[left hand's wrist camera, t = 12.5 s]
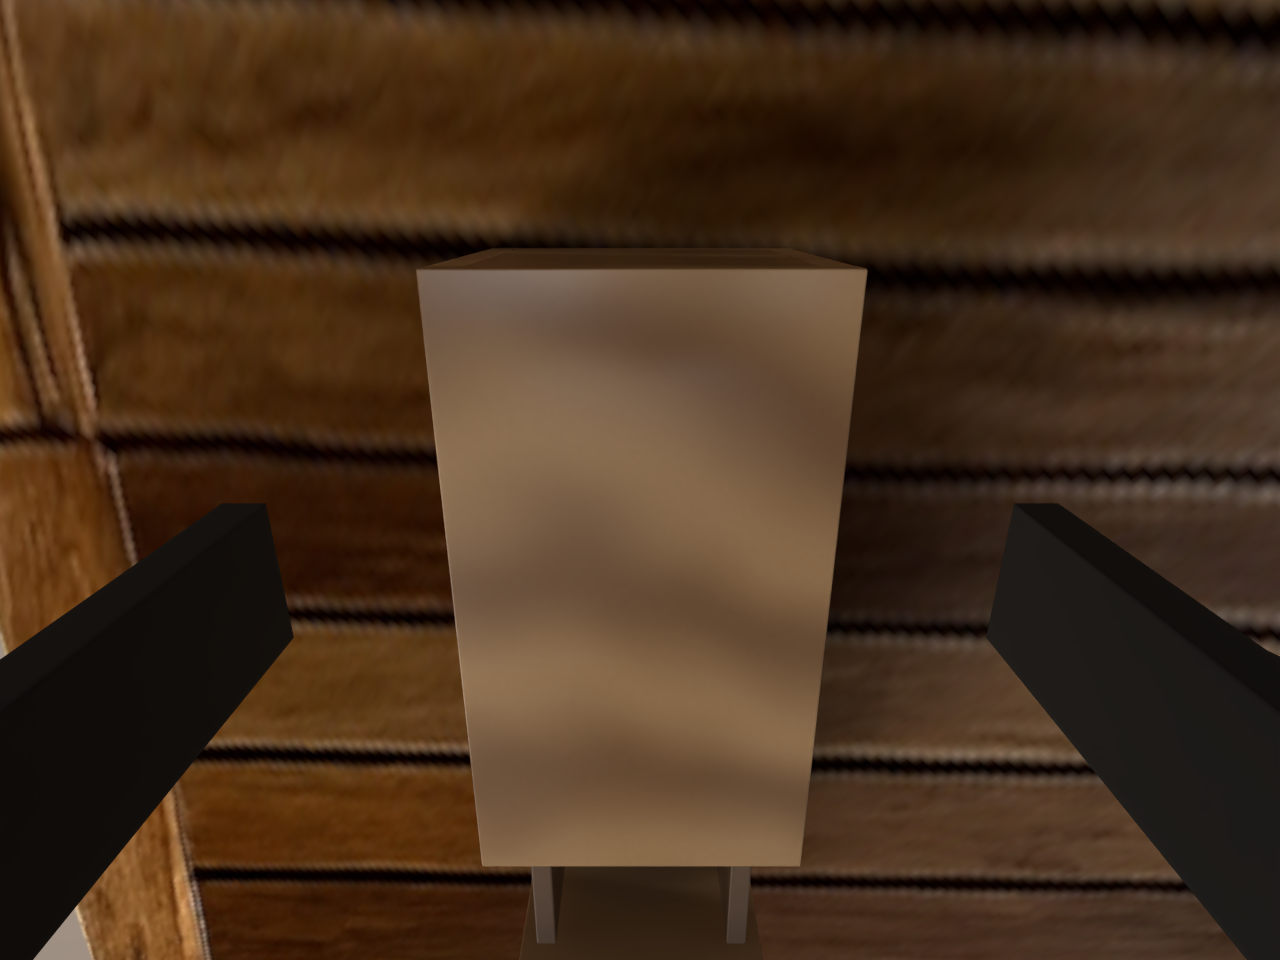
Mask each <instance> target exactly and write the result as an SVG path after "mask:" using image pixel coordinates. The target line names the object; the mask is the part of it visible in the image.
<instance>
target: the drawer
mask: <svg viewBox="0 0 1280 960" xmlns="http://www.w3.org/2000/svg"><path fill="white" fill-rule="evenodd" d="M531 871H532V884H531V890H530V896H529V902H528V908H527V915H526V921H525V927H524V933H523V940H522V946H521V952H520V958H519V960H763V958H762V951H761V945H760V939H759V933H758V927H757V921H756V915H755V909H754V903H753V896H752V890H751V884H750V876H751V866H531Z"/></svg>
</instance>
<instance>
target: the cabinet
mask: <svg viewBox="0 0 1280 960" xmlns="http://www.w3.org/2000/svg"><path fill="white" fill-rule="evenodd" d="M416 274H417V283H418V292H419V301H420V310H421V319H422V328H423V337H424V346H425V355H426V364H427V373H428V382H429V391H430V400H431V409H432V418H433V427H434V436H435V445H436V454H437V463H438V472H439V481H440V490H441V499H442V508H443V517H444V526H445V535H446V544H447V553H448V562H449V571H450V580H451V589H452V598H453V607H454V616H455V625H456V634H457V643H458V652H459V661H460V670H461V679H462V688H463V697H464V706H465V715H466V724H467V733H468V742H469V751H470V760H471V769H472V778H473V787H474V796H475V805H476V814H477V823H478V832H479V841H480V850H481V859H482V866H800V864H801V855H802V846H803V837H804V828H805V819H806V811H807V802H808V793H809V784H810V775H811V766H812V757H813V749H814V740H815V731H816V722H817V713H818V704H819V696H820V687H821V678H822V669H823V660H824V651H825V642H826V634H827V625H828V616H829V607H830V598H831V589H832V581H833V572H834V563H835V554H836V545H837V536H838V527H839V519H840V510H841V501H842V492H843V483H844V474H845V465H846V457H847V448H848V439H849V430H850V421H851V412H852V404H853V395H854V386H855V377H856V368H857V359H858V350H859V342H860V333H861V324H862V315H863V306H864V297H865V289H866V280H867V269H866V268H862V267H858V266H853V265H849V264H845V263H842V262H838V261H834V260H831V259H827V258H823V257H819V256H816V255H812V254H808V253H804V252H801V251H797V250H793V249H790V248H492V249H489V250H485V251H482V252H478V253H474V254H471V255H467V256H463V257H460V258H456V259H452V260H449V261H445V262H441V263H438V264H434V265H430V266H425V267H422V268H418V269H417V270H416Z"/></svg>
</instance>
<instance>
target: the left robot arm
mask: <svg viewBox="0 0 1280 960" xmlns="http://www.w3.org/2000/svg"><path fill="white" fill-rule="evenodd" d="M293 638H294V637H293V632H292V627H291V622H290V617H289V613H288V608H287V603H286V598H285V594H284V589H283V584H282V579H281V574H280V570H279V565H278V560H277V555H276V551H275V546H274V541H273V536H272V531H271V527H270V522H269V517H268V512H267V508H266V504H221V505H219V506H218V507H216V508H215V509H213V510H212V511H211V512H209V513H208V514H206V515H205V516H204V517H202V518H201V519H199V520H198V521H196V522H195V523H194V524H192V525H191V526H189V527H188V528H186V529H185V530H184V531H182V532H181V533H179V534H178V535H177V536H175V537H174V538H172V539H171V540H169V541H168V542H167V543H165V544H164V545H162V546H161V547H159V548H158V549H157V550H155V551H154V552H152V553H151V554H150V555H148V556H147V557H145V558H144V559H142V560H141V561H140V562H138V563H137V564H135V565H134V566H132V567H131V568H130V569H128V570H127V571H125V572H124V573H123V574H121V575H120V576H118V577H117V578H115V579H114V580H113V581H111V582H110V583H108V584H107V585H105V586H104V587H103V588H101V589H100V590H98V591H97V592H96V593H94V594H93V595H91V596H90V597H88V598H87V599H86V600H84V601H83V602H81V603H80V604H78V605H77V606H76V607H74V608H73V609H71V610H70V611H69V612H67V613H66V614H64V615H63V616H61V617H60V618H59V619H57V620H56V621H54V622H53V623H51V624H50V625H49V626H47V627H46V628H44V629H43V630H42V631H40V632H39V633H37V634H36V635H34V636H33V637H32V638H30V639H29V640H27V641H26V642H24V643H23V644H22V645H20V646H19V647H17V648H16V649H15V650H13V651H12V652H10V653H9V654H7V655H6V656H5V657H3V658H2V659H0V960H33V959H34V958H35V957H36V955H37V954H38V953H39V952H40V950H41V949H42V948H43V947H44V945H45V944H46V943H47V942H48V941H49V939H50V938H51V937H52V936H53V934H54V933H55V932H56V931H57V929H58V928H59V927H60V926H61V924H62V923H63V922H64V921H65V919H66V918H67V917H68V916H69V915H70V913H71V912H72V911H73V910H74V908H75V907H76V906H77V905H78V903H79V902H80V901H81V900H82V899H83V897H84V896H85V895H86V894H87V892H88V891H89V890H90V889H91V887H92V886H93V885H94V884H95V882H96V881H97V880H98V879H99V878H100V876H101V875H102V874H103V873H104V871H105V870H106V869H107V868H108V866H109V865H110V864H111V863H112V861H113V860H114V859H115V858H116V857H117V855H118V854H119V853H120V852H121V850H122V849H123V848H124V847H125V845H126V844H127V843H128V842H129V840H130V839H131V838H132V837H133V835H134V834H135V833H136V832H137V831H138V829H139V828H140V827H141V826H142V824H143V823H144V822H145V821H146V819H147V818H148V817H149V816H150V814H151V813H152V812H153V811H154V810H155V808H156V807H157V806H158V805H159V803H160V802H161V801H162V800H163V798H164V797H165V796H166V795H167V793H168V792H169V791H170V790H171V789H172V787H173V786H174V785H175V784H176V782H177V781H178V780H179V779H180V777H181V776H182V775H183V774H184V772H185V771H186V770H187V769H188V768H189V766H190V765H191V764H192V763H193V761H194V760H195V759H196V758H197V756H198V755H199V754H200V753H201V751H202V750H203V749H204V748H205V746H206V745H207V744H208V743H209V742H210V740H211V739H212V738H213V737H214V735H215V734H216V733H217V732H218V730H219V729H220V728H221V727H222V725H223V724H224V723H225V722H226V721H227V719H228V718H229V717H230V716H231V714H232V713H233V712H234V711H235V709H236V708H237V707H238V706H239V704H240V703H241V702H242V701H243V700H244V698H245V697H246V696H247V695H248V693H249V692H250V691H251V690H252V688H253V687H254V686H255V685H256V683H257V682H258V681H259V680H260V679H261V677H262V676H263V675H264V674H265V672H266V671H267V670H268V669H269V667H270V666H271V665H272V664H273V662H274V661H275V660H276V659H277V657H278V656H279V655H280V654H281V653H282V651H283V650H284V649H285V648H286V646H287V645H288V644H289V643H290V641H291V640H292V639H293ZM986 638H987V639H988V640H989V641H990V643H991V644H992V645H993V646H994V648H995V649H996V650H997V651H998V653H999V654H1000V655H1001V656H1002V657H1003V659H1004V660H1005V661H1006V662H1007V664H1008V665H1009V666H1010V667H1011V669H1012V670H1013V671H1014V672H1015V674H1016V675H1017V676H1018V677H1019V679H1020V680H1021V681H1022V682H1023V683H1024V685H1025V686H1026V687H1027V688H1028V690H1029V691H1030V692H1031V693H1032V695H1033V696H1034V697H1035V698H1036V700H1037V701H1038V702H1039V703H1040V704H1041V706H1042V707H1043V708H1044V709H1045V711H1046V712H1047V713H1048V714H1049V716H1050V717H1051V718H1052V719H1053V721H1054V722H1055V723H1056V724H1057V725H1058V727H1059V728H1060V729H1061V730H1062V732H1063V733H1064V734H1065V735H1066V737H1067V738H1068V739H1069V740H1070V742H1071V743H1072V744H1073V745H1074V746H1075V748H1076V749H1077V750H1078V751H1079V753H1080V754H1081V755H1082V756H1083V758H1084V759H1085V760H1086V761H1087V763H1088V764H1089V765H1090V766H1091V768H1092V769H1093V770H1094V771H1095V772H1096V774H1097V775H1098V776H1099V777H1100V779H1101V780H1102V781H1103V782H1104V784H1105V785H1106V786H1107V787H1108V789H1109V790H1110V791H1111V792H1112V793H1113V795H1114V796H1115V797H1116V798H1117V800H1118V801H1119V802H1120V803H1121V805H1122V806H1123V807H1124V808H1125V810H1126V811H1127V812H1128V813H1129V814H1130V816H1131V817H1132V818H1133V819H1134V821H1135V822H1136V823H1137V824H1138V826H1139V827H1140V828H1141V829H1142V831H1143V832H1144V833H1145V834H1146V835H1147V837H1148V838H1149V839H1150V840H1151V842H1152V843H1153V844H1154V845H1155V847H1156V848H1157V849H1158V850H1159V852H1160V853H1161V854H1162V855H1163V857H1164V858H1165V859H1166V860H1167V861H1168V863H1169V864H1170V865H1171V866H1172V868H1173V869H1174V870H1175V871H1176V873H1177V874H1178V875H1179V876H1180V878H1181V879H1182V880H1183V881H1184V882H1185V884H1186V885H1187V886H1188V887H1189V889H1190V890H1191V891H1192V892H1193V894H1194V895H1195V896H1196V897H1197V899H1198V900H1199V901H1200V902H1201V903H1202V905H1203V906H1204V907H1205V908H1206V910H1207V911H1208V912H1209V913H1210V915H1211V916H1212V917H1213V918H1214V920H1215V921H1216V922H1217V923H1218V924H1219V926H1220V927H1221V928H1222V929H1223V931H1224V932H1225V933H1226V934H1227V936H1228V937H1229V938H1230V939H1231V941H1232V942H1233V943H1234V944H1235V946H1236V947H1237V948H1238V949H1239V950H1240V952H1241V953H1242V954H1243V955H1244V957H1245V958H1246V959H1247V960H1280V656H1278V655H1276V654H1273V653H1271V652H1269V651H1267V650H1265V649H1264V648H1263V647H1261V646H1260V645H1258V644H1257V643H1256V642H1254V641H1253V640H1251V639H1250V638H1248V637H1247V636H1246V635H1244V634H1243V633H1241V632H1240V631H1238V630H1237V629H1236V628H1234V627H1233V626H1231V625H1230V624H1229V623H1227V622H1226V621H1224V620H1223V619H1221V618H1220V617H1219V616H1217V615H1216V614H1214V613H1213V612H1211V611H1210V610H1209V609H1207V608H1206V607H1204V606H1203V605H1202V604H1200V603H1199V602H1197V601H1196V600H1194V599H1193V598H1192V597H1190V596H1189V595H1187V594H1186V593H1184V592H1183V591H1182V590H1180V589H1179V588H1177V587H1176V586H1175V585H1173V584H1172V583H1170V582H1169V581H1167V580H1166V579H1165V578H1163V577H1162V576H1160V575H1159V574H1157V573H1156V572H1155V571H1153V570H1152V569H1150V568H1149V567H1148V566H1146V565H1145V564H1143V563H1142V562H1140V561H1139V560H1138V559H1136V558H1135V557H1133V556H1132V555H1130V554H1129V553H1128V552H1126V551H1125V550H1123V549H1122V548H1121V547H1119V546H1118V545H1116V544H1115V543H1113V542H1112V541H1111V540H1109V539H1108V538H1106V537H1105V536H1103V535H1102V534H1101V533H1099V532H1098V531H1096V530H1095V529H1094V528H1092V527H1091V526H1089V525H1088V524H1086V523H1085V522H1084V521H1082V520H1081V519H1079V518H1078V517H1076V516H1075V515H1074V514H1072V513H1071V512H1069V511H1068V510H1067V509H1065V508H1064V507H1062V506H1061V505H1059V504H1014V508H1013V512H1012V517H1011V522H1010V527H1009V531H1008V536H1007V541H1006V546H1005V551H1004V555H1003V560H1002V565H1001V570H1000V574H999V579H998V584H997V589H996V594H995V598H994V603H993V608H992V613H991V617H990V622H989V627H988V632H987V637H986Z"/></svg>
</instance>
